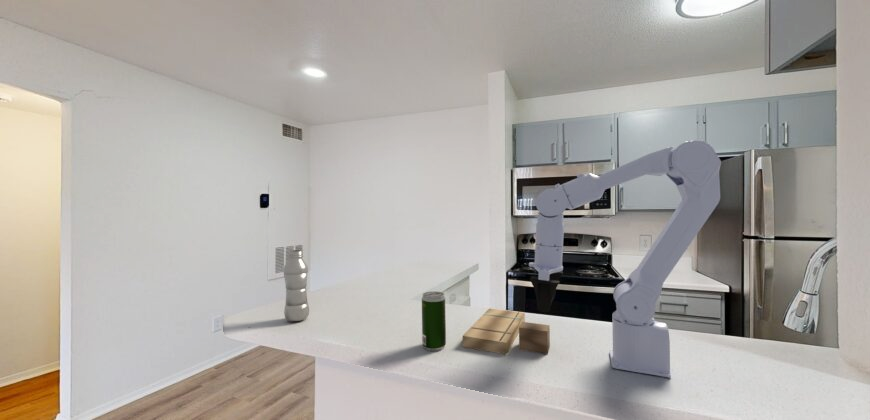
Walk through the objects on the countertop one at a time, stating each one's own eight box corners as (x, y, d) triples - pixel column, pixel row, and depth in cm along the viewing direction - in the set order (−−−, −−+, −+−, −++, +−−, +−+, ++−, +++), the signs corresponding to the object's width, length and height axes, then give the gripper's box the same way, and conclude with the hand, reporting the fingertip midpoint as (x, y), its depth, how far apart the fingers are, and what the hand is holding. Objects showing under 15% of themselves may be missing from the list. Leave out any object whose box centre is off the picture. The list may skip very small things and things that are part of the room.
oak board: (524, 321, 91) (524, 312, 91) (506, 354, 71) (506, 342, 71) (489, 317, 95) (489, 308, 95) (462, 346, 75) (462, 335, 75)
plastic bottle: (304, 324, 92) (302, 252, 91) (279, 324, 92) (278, 252, 92) (313, 316, 98) (311, 249, 98) (290, 316, 98) (289, 249, 98)
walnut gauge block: (549, 347, 74) (549, 325, 74) (547, 354, 71) (547, 331, 71) (522, 343, 77) (522, 321, 77) (519, 350, 73) (518, 327, 73)
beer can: (430, 353, 72) (429, 298, 72) (418, 345, 76) (417, 293, 76) (450, 347, 75) (449, 294, 74) (437, 340, 79) (436, 290, 79)
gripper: (535, 240, 80) (532, 295, 81) (524, 246, 67) (521, 312, 68) (566, 242, 77) (563, 300, 78) (561, 250, 64) (557, 319, 65)
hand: (545, 306), depth 73 cm, fingers open, 7 cm apart
